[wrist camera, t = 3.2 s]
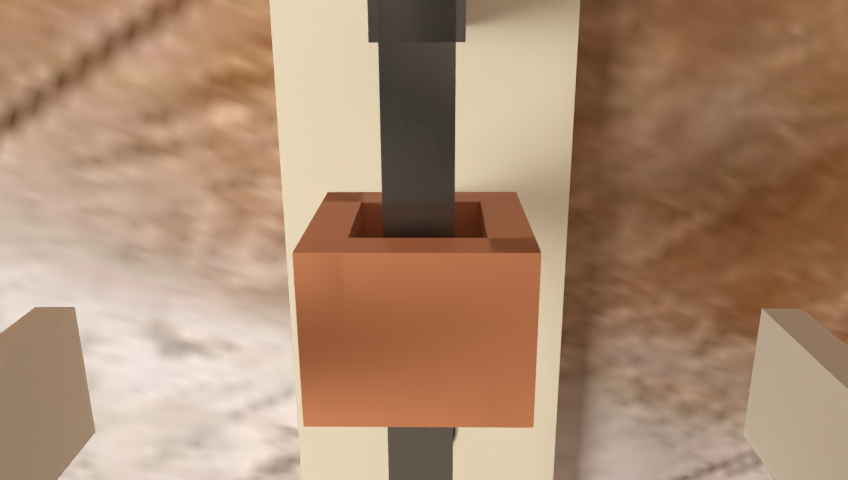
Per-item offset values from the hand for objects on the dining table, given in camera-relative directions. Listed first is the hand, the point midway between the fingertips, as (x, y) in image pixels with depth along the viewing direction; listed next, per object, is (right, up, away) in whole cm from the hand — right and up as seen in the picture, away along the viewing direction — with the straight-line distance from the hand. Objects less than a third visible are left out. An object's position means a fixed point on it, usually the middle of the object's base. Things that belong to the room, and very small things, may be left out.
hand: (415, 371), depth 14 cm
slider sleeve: (0, +4, +11) cm, 11 cm away
